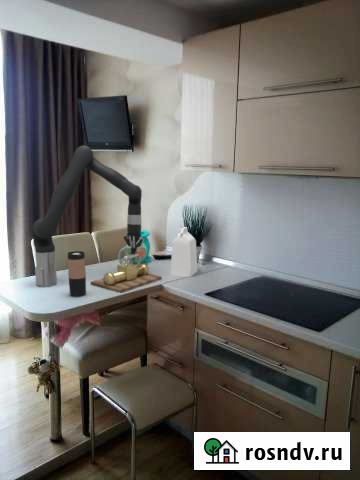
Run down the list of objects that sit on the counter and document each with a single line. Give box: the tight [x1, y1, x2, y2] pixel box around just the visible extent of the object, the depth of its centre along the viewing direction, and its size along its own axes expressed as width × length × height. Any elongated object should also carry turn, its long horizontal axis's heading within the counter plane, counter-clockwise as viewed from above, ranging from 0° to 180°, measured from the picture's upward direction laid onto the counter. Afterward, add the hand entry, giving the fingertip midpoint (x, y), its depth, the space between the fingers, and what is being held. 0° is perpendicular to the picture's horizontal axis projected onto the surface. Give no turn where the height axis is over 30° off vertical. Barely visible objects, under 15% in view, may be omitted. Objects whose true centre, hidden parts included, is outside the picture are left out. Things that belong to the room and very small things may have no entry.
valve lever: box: [123, 250, 145, 260], centre depth 206 cm, size 3×16×3 cm, turn 151°
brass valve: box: [102, 259, 149, 286], centre depth 201 cm, size 28×7×11 cm, turn 142°
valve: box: [117, 230, 152, 267], centre depth 239 cm, size 14×18×30 cm
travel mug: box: [67, 250, 87, 298], centre depth 180 cm, size 8×8×20 cm
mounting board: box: [90, 273, 163, 294], centre depth 202 cm, size 30×22×2 cm
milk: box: [170, 226, 198, 278], centre depth 217 cm, size 12×12×26 cm
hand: (133, 254), depth 211 cm, fingers closed
